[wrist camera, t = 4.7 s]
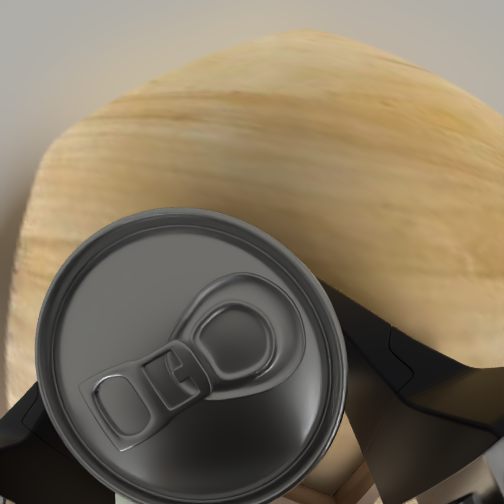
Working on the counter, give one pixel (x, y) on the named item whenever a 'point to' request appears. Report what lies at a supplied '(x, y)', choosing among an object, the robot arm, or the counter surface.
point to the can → (191, 360)
